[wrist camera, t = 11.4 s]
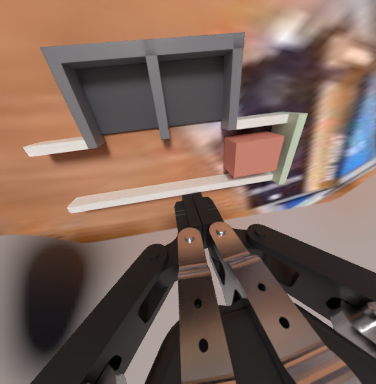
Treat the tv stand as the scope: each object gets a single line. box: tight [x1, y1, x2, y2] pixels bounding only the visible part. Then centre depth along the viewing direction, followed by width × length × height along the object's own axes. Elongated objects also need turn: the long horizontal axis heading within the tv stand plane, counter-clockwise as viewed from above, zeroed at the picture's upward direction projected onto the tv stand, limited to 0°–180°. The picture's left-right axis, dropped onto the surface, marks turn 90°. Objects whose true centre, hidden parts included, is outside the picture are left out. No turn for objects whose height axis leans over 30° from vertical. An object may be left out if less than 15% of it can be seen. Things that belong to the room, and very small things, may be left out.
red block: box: [223, 131, 285, 178], centre depth 19 cm, size 6×4×4 cm
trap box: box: [23, 32, 308, 213], centre depth 17 cm, size 30×16×4 cm, turn 95°
